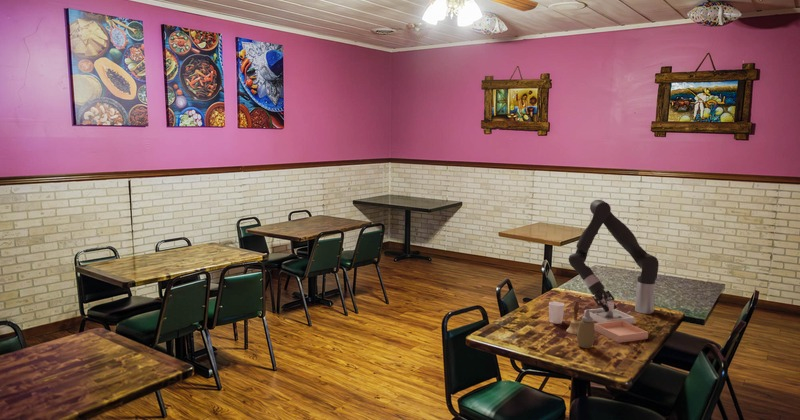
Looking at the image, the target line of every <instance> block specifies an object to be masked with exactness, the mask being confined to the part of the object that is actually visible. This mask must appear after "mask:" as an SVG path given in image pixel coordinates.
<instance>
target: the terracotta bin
mask: <svg viewBox="0 0 800 420" xmlns="http://www.w3.org/2000/svg"><path fill="white" fill-rule="evenodd" d="M594 332H596V333H599V334H601V335H603V336H605V337H606V338H608V339H610V340H613V341H615V342H616V343H620V344H621V343H626V342H633V341H634V342H635V341H641V340H648V339H649V331H647V330H644V329H642V328H640V327H638V326H636V325H634V324H629V323H627V322H625V321H623V320H621V321H612V322H604V323H597V322H595V323H594Z"/></svg>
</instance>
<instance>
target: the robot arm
mask: <svg viewBox="0 0 800 420" xmlns="http://www.w3.org/2000/svg"><path fill="white" fill-rule="evenodd" d="M589 209H590V213H591V214H592V218H591V221H590V222H589V224H588V226H587V227H585V229H584V231H582V233H581V235H580V237H579V238H578V241H577V243H576V247H575V248H576V251H575V253H572V254H570V255H569V256H568V263H569V265H570V266H571V267H572V269H573V270H575V272H576V273H577V274H578V275H579V276H580V278H581V279H582V281H583V282H584V284H585V286H586V287H587V289H588V290H589V292H590V293H591V294H592V299H593V301H594V302H595V303H596V305H597V306H598V307H599V306H600V307H601V308H603V309H604V310H605V312H608V311H609V308H608V307H607V306H606V300H607V299H611V300H614V301H615V297H614V295H612V294H611V291H609V290H607V291H605V286H604V285H603V283H602V281H601V280H600V278H598V276H597V275H596V274H595V272H594V271H593V270H592V268H591V267H590V266H588V265H587V264H586V263H585V262H586V260H587V257H588V253H589V250H590V248H591V246H592V244H593V242H594V239H595V238H596V235H597V234H598V232H599V230H600V229H601V227H602V226H603V225H604V226H605V227H606V229H607V230H608V232H609V233H610V234H611V236H612V237H613V239H614V240H616V242H617V243H618V244H619V245H620V246H621V247H622V248H623V249H624V250H625V251H627V252H628V254H629V256H631V258H632V259H633V261H634V262H635V264H636V265H637V266H638V267H639V268H640V269H641V272H640V275H638V277H637V281H636V290H635V291H636V292H635V293H636V294H635V304H634V305H635V307H634V311H635V312H637V313H639V314H644V315H649V314H652V313H655V310H654V309H655V301H656V296H655V287H656V280H657V277H658V273H659V267H660V265H659V264H660V263H659V259H658V258H657V257H656V256H654V255H652V254H650V253H648V252H647V251H646V250H644V248H642V246H640V244H639V242H638V240H637V237H636V235H635V234H634V233H633V231H631V229H630V228H629V227H628V226H627V225H626V224H625V223H624V222H622V221H621V220H620V219H619V218H618V217H616V215H614V213H613V212H612V211H611V205H610V204H609V203H608V202H606V201H604V200H602V199H594V200H592V201H591V203H590V206H589ZM617 308H618V306H617V305H616V303H615V302H614V309H616V310H617Z"/></svg>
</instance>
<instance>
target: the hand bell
mask: <svg viewBox="0 0 800 420" xmlns="http://www.w3.org/2000/svg"><path fill="white" fill-rule="evenodd" d="M579 310H580V303H579V301H578V300H576V301H575V302H574V304H573V313H574V314H573V319H572V320H570V324H569V326H568V327H567V329H566V333H568V334H571V335H577V333H578V328H579V322H580V320H578V314H579Z"/></svg>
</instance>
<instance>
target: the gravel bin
mask: <svg viewBox="0 0 800 420" xmlns="http://www.w3.org/2000/svg"><path fill="white" fill-rule="evenodd" d="M583 312H584V313H583V314H584V315H583V316H585V313H586V309H584V311H583ZM589 312H590V316H591V317H592V322H594V323H604V322H612V321H621V320H623V321H625V322H627V323H629V324H632V325H634V324H635V317H634V316H632V315H629V313H625V312H623V311H621V310H618V309H617V308H616V309H614V313H613V318H607V317H605V310H604V309H603V307H601V308H591V309H589Z"/></svg>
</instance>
